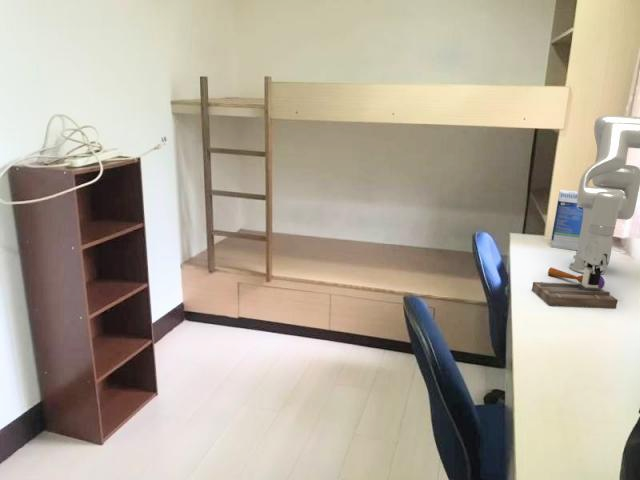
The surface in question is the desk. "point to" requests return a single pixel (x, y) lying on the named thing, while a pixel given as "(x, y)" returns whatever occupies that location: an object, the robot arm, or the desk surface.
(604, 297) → the brown slider board
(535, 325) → the desk surface
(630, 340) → the desk surface
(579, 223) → the string lights box
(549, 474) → the desk surface
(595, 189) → the robot arm
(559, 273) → the kendama
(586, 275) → the fader tab
